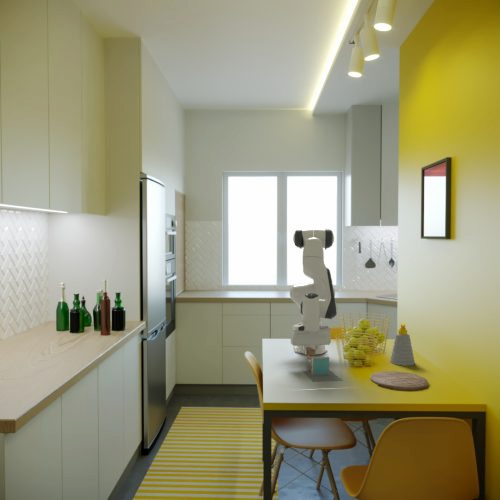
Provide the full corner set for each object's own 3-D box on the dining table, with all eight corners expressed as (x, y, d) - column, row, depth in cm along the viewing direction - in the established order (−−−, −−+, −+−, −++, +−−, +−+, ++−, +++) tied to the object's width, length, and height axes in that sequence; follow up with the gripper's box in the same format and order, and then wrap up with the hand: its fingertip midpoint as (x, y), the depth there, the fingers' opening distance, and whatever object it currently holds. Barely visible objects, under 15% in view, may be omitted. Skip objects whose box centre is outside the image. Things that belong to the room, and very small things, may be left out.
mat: (301, 372, 231) (301, 371, 231) (329, 370, 234) (329, 369, 234) (313, 382, 214) (313, 381, 214) (343, 381, 216) (343, 380, 216)
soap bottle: (389, 364, 248) (390, 325, 248) (390, 359, 260) (391, 321, 260) (414, 366, 244) (415, 326, 244) (414, 361, 256) (415, 323, 256)
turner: (300, 354, 246) (300, 346, 246) (313, 354, 247) (313, 346, 247) (310, 363, 228) (311, 354, 228) (324, 362, 230) (325, 354, 229)
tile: (311, 374, 226) (311, 357, 226) (327, 373, 227) (327, 356, 227) (312, 375, 224) (312, 358, 224) (329, 374, 226) (329, 357, 226)
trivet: (359, 377, 224) (359, 373, 224) (403, 373, 233) (403, 369, 233) (393, 393, 201) (393, 389, 201) (440, 388, 210) (440, 383, 210)
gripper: (328, 324, 245) (328, 351, 245) (289, 325, 241) (289, 353, 241) (332, 327, 239) (332, 354, 239) (293, 327, 235) (292, 356, 235)
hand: (310, 353), depth 240 cm, fingers closed on turner, 3 cm apart
